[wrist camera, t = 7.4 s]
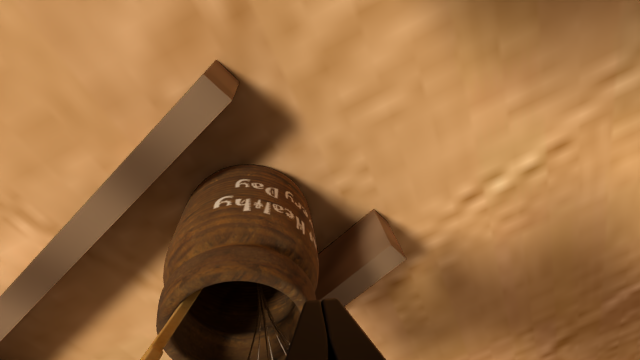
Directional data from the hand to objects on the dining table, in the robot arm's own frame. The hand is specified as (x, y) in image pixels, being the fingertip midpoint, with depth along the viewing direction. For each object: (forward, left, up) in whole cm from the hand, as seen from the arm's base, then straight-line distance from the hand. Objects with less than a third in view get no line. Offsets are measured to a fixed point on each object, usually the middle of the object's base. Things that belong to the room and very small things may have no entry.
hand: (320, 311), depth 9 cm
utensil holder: (+3, 0, -9) cm, 9 cm away
